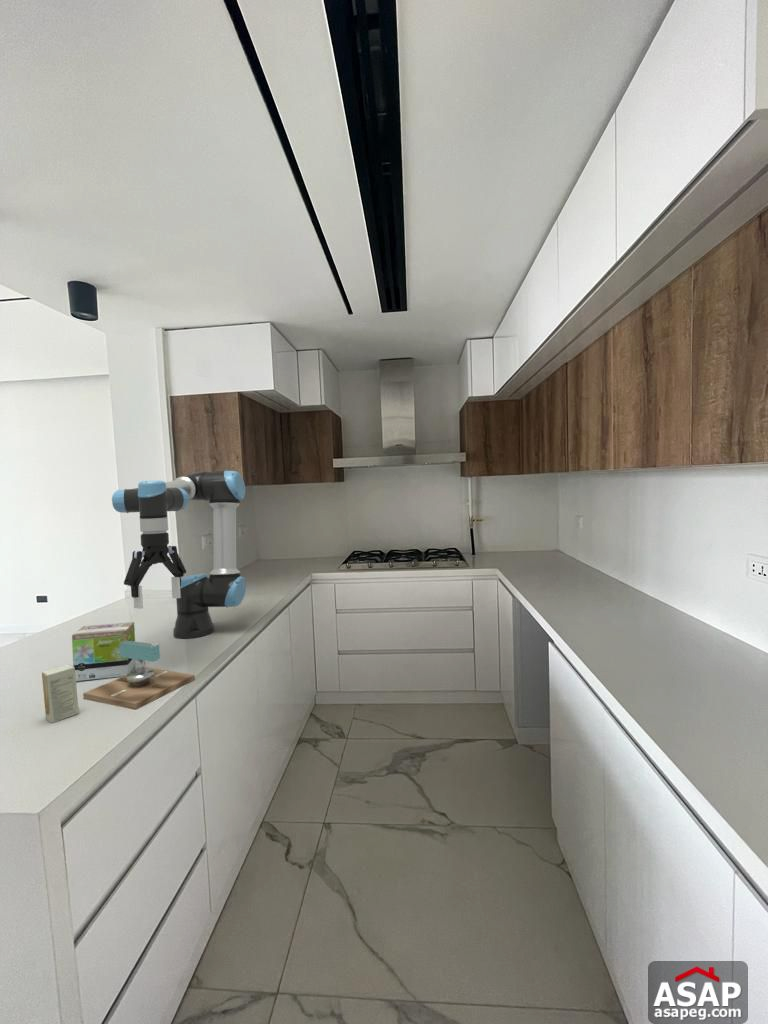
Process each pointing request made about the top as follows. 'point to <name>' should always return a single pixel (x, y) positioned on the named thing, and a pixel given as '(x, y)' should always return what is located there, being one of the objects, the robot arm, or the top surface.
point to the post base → (138, 689)
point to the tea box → (101, 651)
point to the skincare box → (60, 693)
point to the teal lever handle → (139, 658)
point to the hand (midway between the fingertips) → (158, 602)
